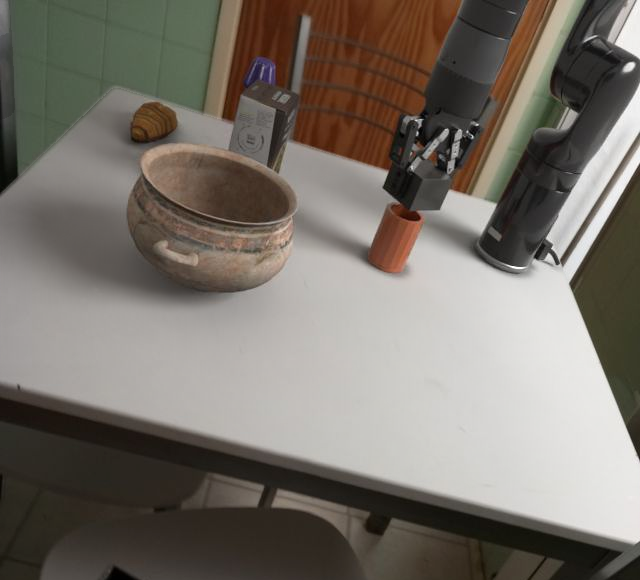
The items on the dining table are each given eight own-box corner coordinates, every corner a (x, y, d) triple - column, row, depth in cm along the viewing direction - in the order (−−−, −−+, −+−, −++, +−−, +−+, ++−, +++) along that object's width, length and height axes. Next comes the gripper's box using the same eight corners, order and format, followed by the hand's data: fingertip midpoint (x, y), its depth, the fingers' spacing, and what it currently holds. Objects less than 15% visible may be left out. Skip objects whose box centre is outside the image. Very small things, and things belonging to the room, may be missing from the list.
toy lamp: (223, 162, 107) (248, 50, 97) (252, 169, 109) (280, 59, 98) (223, 175, 104) (249, 60, 93) (253, 183, 105) (282, 70, 95)
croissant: (155, 155, 102) (160, 122, 99) (113, 137, 102) (116, 103, 99) (190, 130, 112) (195, 99, 109) (152, 114, 112) (156, 83, 109)
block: (412, 188, 96) (425, 157, 94) (439, 210, 94) (453, 179, 91) (382, 188, 93) (394, 156, 90) (409, 211, 90) (422, 179, 87)
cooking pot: (178, 209, 92) (194, 119, 84) (305, 266, 92) (333, 181, 84) (71, 286, 73) (79, 179, 65) (229, 359, 73) (257, 261, 65)
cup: (387, 250, 103) (407, 201, 98) (410, 271, 100) (432, 222, 95) (359, 252, 99) (379, 202, 94) (382, 274, 97) (404, 224, 92)
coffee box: (256, 227, 95) (287, 112, 85) (212, 211, 95) (238, 92, 85) (272, 203, 102) (302, 94, 92) (231, 187, 102) (257, 76, 91)
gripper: (447, 75, 76) (391, 211, 87) (524, 86, 85) (465, 209, 95) (406, 47, 80) (357, 181, 90) (484, 60, 88) (431, 182, 99)
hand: (412, 195), depth 93 cm, fingers closed on block, 6 cm apart
